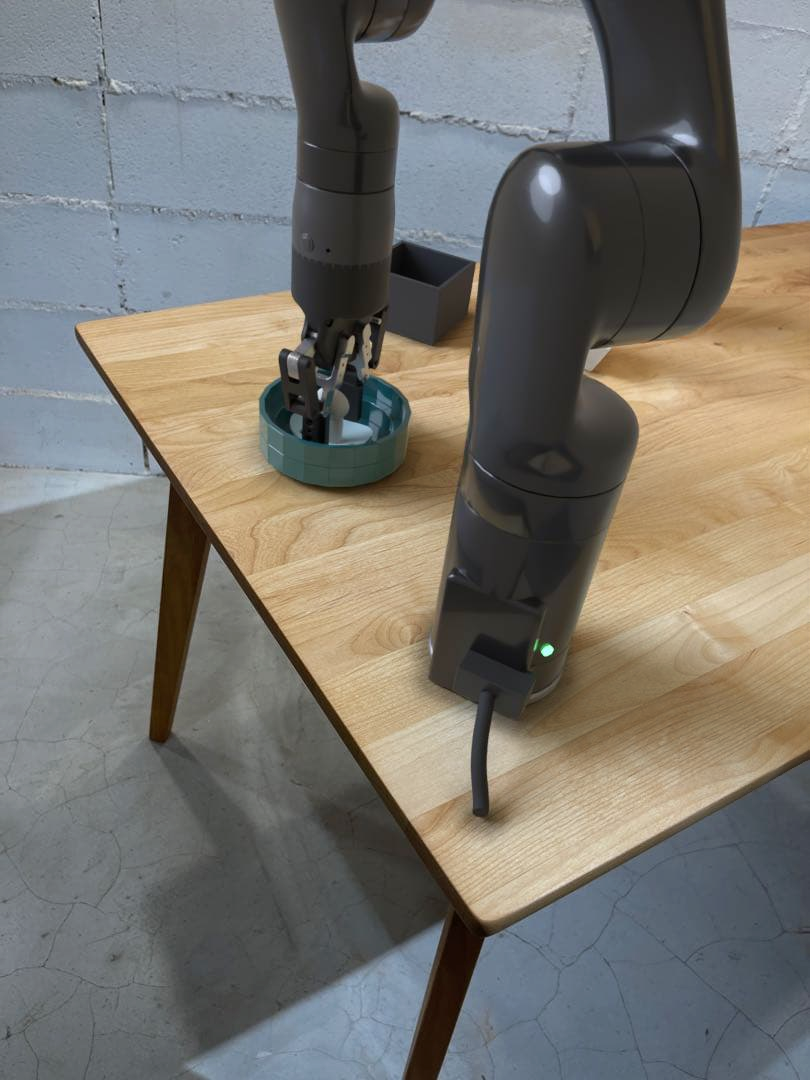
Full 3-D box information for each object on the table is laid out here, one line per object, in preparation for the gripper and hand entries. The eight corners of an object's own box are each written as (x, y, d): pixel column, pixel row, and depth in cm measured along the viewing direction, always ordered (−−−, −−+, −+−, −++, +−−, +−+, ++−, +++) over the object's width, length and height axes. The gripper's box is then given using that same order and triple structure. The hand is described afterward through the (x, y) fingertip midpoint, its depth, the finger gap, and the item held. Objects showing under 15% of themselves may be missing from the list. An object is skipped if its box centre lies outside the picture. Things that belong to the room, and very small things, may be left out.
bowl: (360, 511, 69) (364, 467, 66) (229, 458, 72) (227, 413, 69) (429, 439, 78) (435, 397, 75) (310, 395, 81) (311, 353, 79)
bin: (432, 346, 92) (440, 289, 88) (357, 320, 95) (361, 265, 90) (467, 315, 98) (476, 261, 94) (396, 292, 101) (401, 239, 97)
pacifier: (309, 417, 78) (282, 448, 73) (312, 355, 74) (283, 384, 69) (383, 437, 76) (360, 470, 72) (390, 375, 72) (366, 406, 68)
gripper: (337, 285, 56) (327, 488, 67) (428, 227, 66) (406, 411, 77) (244, 256, 58) (248, 457, 69) (346, 204, 69) (336, 386, 80)
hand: (332, 432), depth 73 cm, fingers closed on pacifier, 5 cm apart
